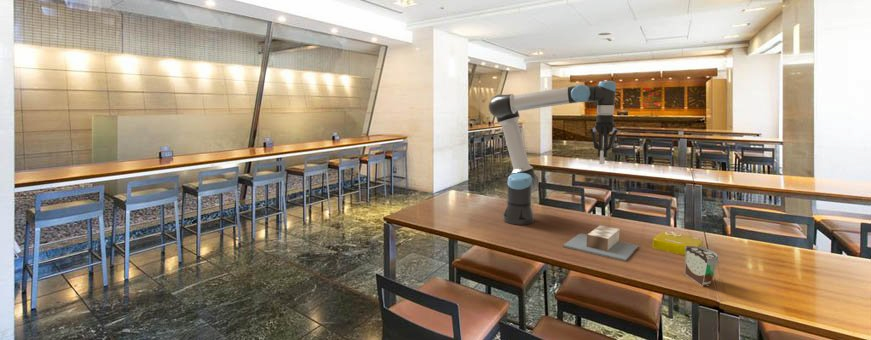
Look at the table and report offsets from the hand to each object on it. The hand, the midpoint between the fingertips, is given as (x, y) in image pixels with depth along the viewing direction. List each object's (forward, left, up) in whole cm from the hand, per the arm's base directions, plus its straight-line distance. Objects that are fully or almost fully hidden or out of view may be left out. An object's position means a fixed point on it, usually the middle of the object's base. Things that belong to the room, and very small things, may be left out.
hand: (601, 163), depth 188 cm
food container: (+48, -44, -30) cm, 72 cm away
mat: (+12, -34, -29) cm, 47 cm away
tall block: (+12, -23, -26) cm, 37 cm away
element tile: (+36, -15, -30) cm, 49 cm away
